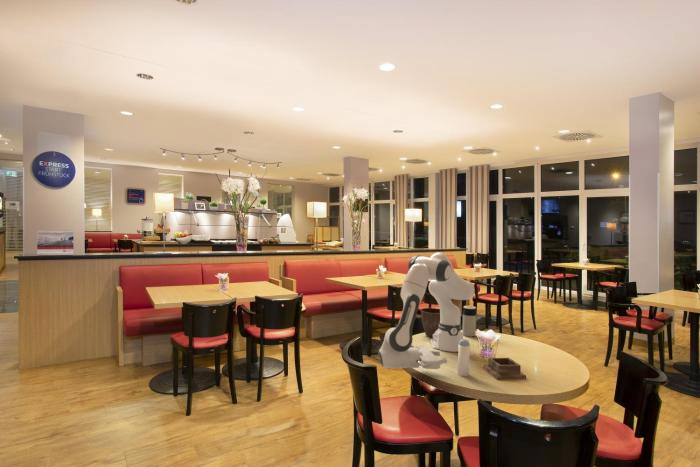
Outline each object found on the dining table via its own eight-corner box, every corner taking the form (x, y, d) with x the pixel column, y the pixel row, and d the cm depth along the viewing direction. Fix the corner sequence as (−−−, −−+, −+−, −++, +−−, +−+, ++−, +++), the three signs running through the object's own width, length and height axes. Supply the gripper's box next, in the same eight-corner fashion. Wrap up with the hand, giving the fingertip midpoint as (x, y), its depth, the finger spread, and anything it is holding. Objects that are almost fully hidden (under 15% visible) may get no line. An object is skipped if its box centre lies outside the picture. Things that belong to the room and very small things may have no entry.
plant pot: (436, 331, 253) (437, 307, 253) (449, 338, 239) (449, 312, 239) (415, 333, 249) (416, 308, 249) (427, 340, 235) (427, 313, 234)
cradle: (482, 368, 190) (483, 356, 190) (510, 367, 192) (510, 356, 192) (497, 379, 176) (497, 367, 176) (526, 378, 178) (526, 366, 178)
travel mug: (478, 336, 245) (479, 307, 245) (469, 337, 241) (470, 308, 241) (468, 332, 252) (469, 305, 252) (459, 334, 248) (460, 306, 248)
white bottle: (456, 372, 184) (456, 337, 184) (466, 372, 185) (467, 337, 184) (460, 376, 179) (461, 341, 179) (470, 376, 180) (471, 340, 179)
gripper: (420, 358, 169) (451, 358, 170) (408, 344, 189) (435, 343, 190) (420, 373, 169) (451, 372, 170) (407, 356, 189) (435, 356, 191)
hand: (442, 357), depth 181 cm, fingers open, 8 cm apart
